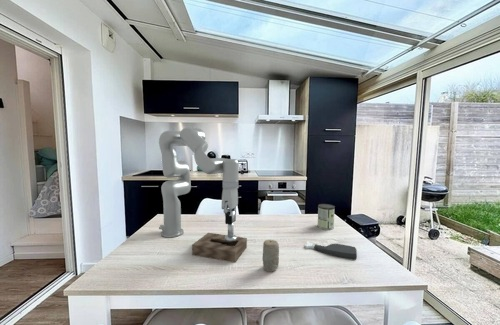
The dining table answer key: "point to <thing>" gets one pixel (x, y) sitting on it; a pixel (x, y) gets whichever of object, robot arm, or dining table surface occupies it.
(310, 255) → the dining table surface
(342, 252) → the spray bottle
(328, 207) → the coffee can
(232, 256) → the keyhole board
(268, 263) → the carving
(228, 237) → the keyhole peg
